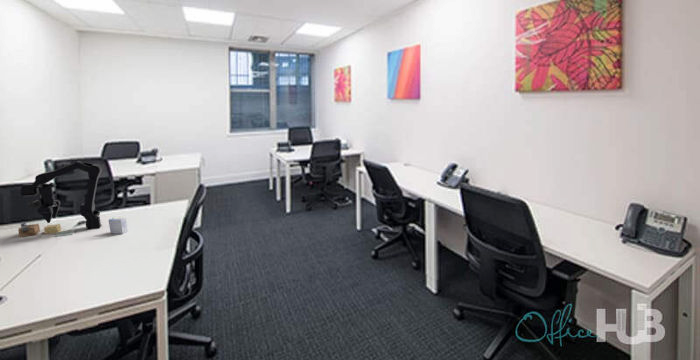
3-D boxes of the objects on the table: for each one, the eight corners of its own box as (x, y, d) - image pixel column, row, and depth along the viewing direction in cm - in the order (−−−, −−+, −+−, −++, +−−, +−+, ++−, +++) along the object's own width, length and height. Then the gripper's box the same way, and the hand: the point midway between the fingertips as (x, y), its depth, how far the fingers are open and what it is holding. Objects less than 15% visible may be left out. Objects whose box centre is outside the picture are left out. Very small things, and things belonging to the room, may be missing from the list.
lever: (28, 231, 186) (27, 227, 186) (22, 232, 184) (21, 228, 184) (27, 226, 194) (26, 222, 193) (20, 227, 192) (20, 223, 192)
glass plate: (75, 230, 201) (75, 230, 201) (71, 234, 195) (71, 233, 195) (58, 232, 197) (58, 232, 197) (54, 236, 191) (54, 236, 191)
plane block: (40, 231, 200) (38, 223, 199) (35, 234, 194) (34, 227, 193) (24, 232, 197) (23, 225, 196) (19, 236, 191) (18, 229, 190)
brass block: (61, 230, 202) (60, 224, 201) (57, 232, 198) (56, 226, 197) (49, 231, 200) (48, 225, 199) (45, 234, 196) (44, 227, 195)
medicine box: (128, 231, 201) (126, 217, 199) (122, 234, 196) (120, 220, 195) (116, 230, 202) (114, 217, 200) (110, 233, 197) (108, 219, 195)
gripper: (34, 192, 199) (39, 217, 202) (21, 200, 182) (27, 227, 186) (58, 190, 203) (63, 215, 207) (47, 198, 187) (52, 224, 190)
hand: (51, 220), depth 197 cm, fingers open, 9 cm apart
